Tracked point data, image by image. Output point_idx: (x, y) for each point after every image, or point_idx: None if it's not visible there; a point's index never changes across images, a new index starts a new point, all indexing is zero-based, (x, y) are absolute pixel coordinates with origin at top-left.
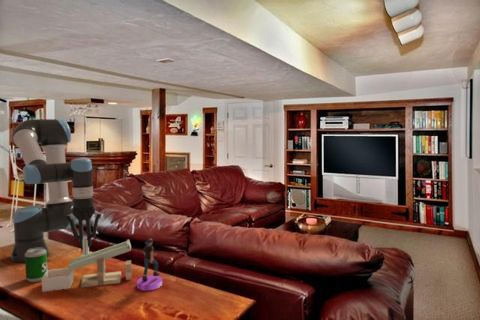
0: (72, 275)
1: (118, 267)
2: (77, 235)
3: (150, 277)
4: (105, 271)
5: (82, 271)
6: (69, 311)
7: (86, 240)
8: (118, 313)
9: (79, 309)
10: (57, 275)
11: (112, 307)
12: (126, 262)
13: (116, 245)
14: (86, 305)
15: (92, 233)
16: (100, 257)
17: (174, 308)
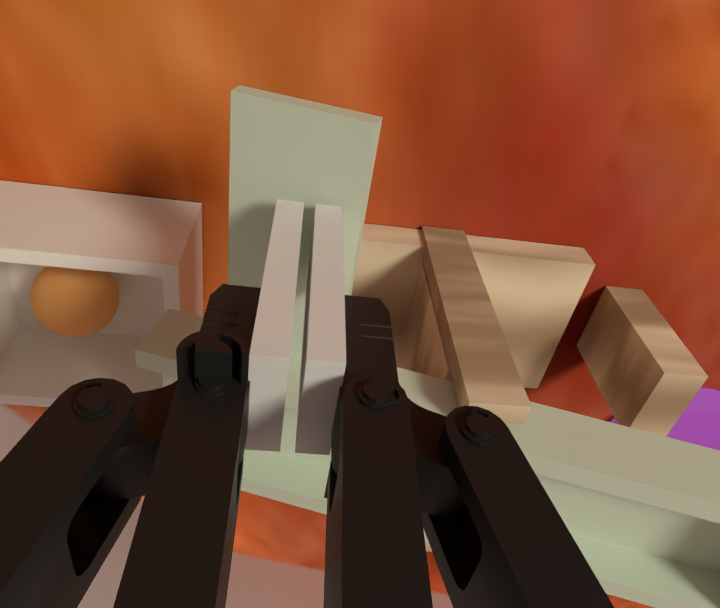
0: (191, 269)
1: (629, 55)
2: (123, 484)
3: (707, 437)
4: (472, 256)
5: (258, 5)
6: (249, 536)
7: (314, 441)
8: (440, 584)
9: (291, 534)
10: (66, 318)
11: (427, 552)
12: (652, 404)
13: (669, 507)
14: (320, 518)
15: (437, 553)
16: None
17: (633, 601)
